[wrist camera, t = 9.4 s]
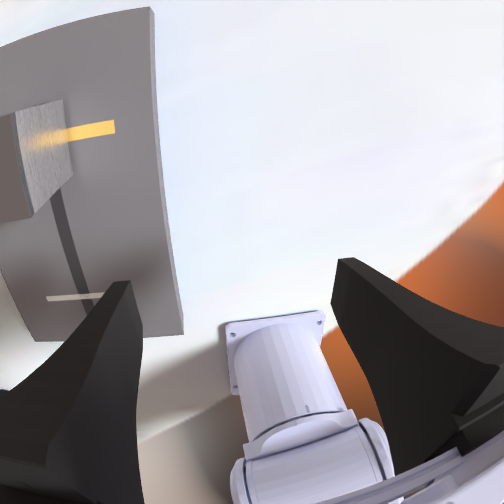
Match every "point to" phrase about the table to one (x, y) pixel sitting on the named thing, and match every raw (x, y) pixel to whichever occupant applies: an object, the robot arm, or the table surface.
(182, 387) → the table surface
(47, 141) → the fader knob
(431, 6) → the table surface
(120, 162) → the fader console
